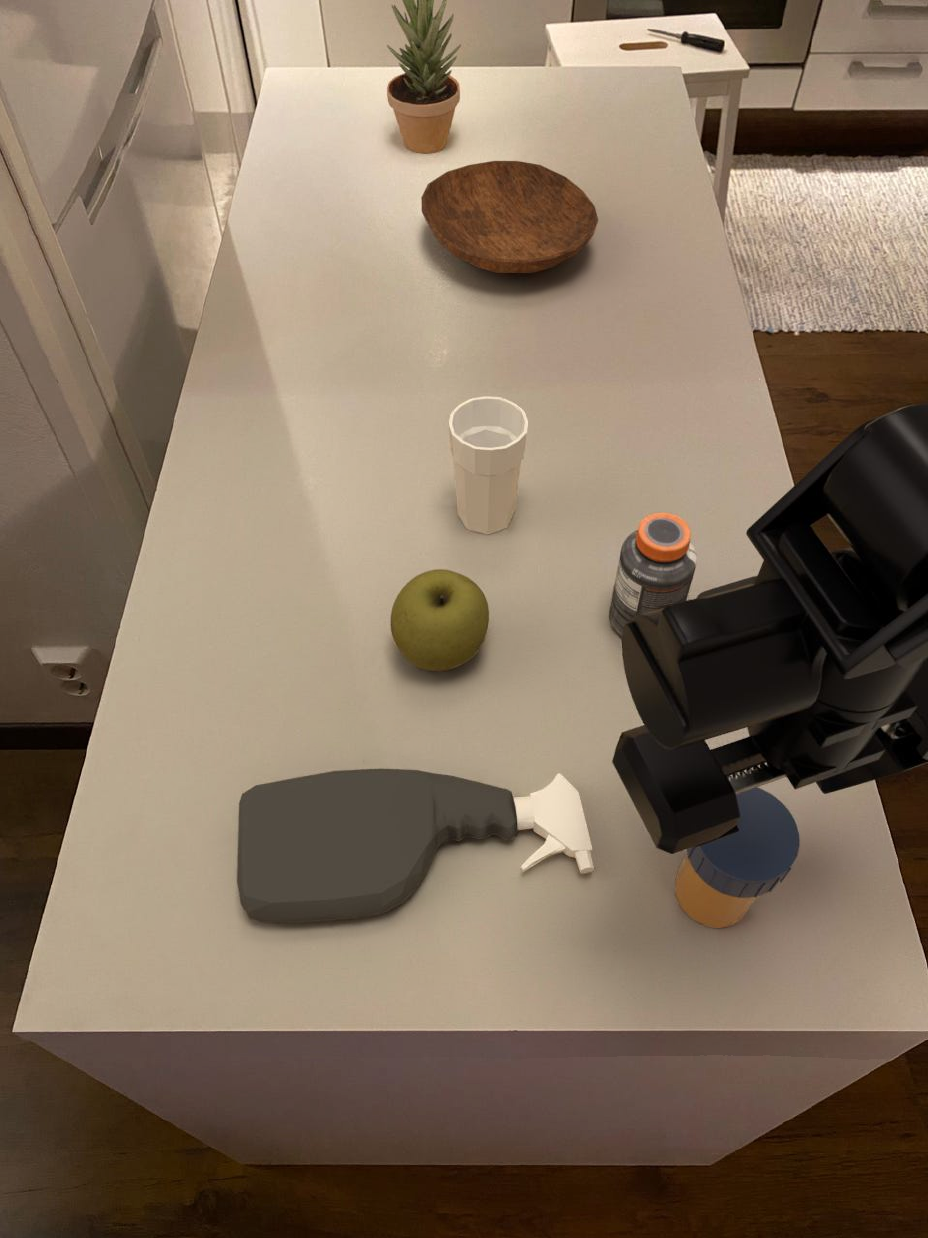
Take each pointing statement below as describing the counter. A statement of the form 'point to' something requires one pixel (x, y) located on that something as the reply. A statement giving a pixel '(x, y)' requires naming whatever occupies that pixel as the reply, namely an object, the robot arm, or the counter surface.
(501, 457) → the cup
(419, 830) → the spray bottle
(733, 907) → the jar
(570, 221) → the bowl
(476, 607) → the apple
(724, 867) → the jar lid
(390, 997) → the counter surface
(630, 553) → the pill bottle
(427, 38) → the potted plant
